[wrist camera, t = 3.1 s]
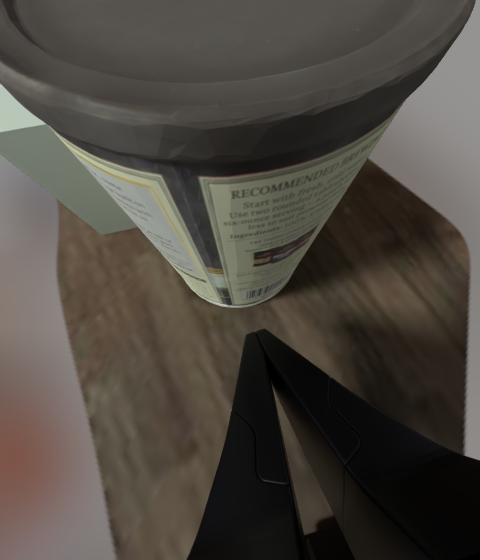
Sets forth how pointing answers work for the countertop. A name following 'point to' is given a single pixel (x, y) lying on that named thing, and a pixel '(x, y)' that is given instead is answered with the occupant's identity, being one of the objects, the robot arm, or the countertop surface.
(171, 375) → the countertop surface
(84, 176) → the tea tin
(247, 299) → the coffee can
